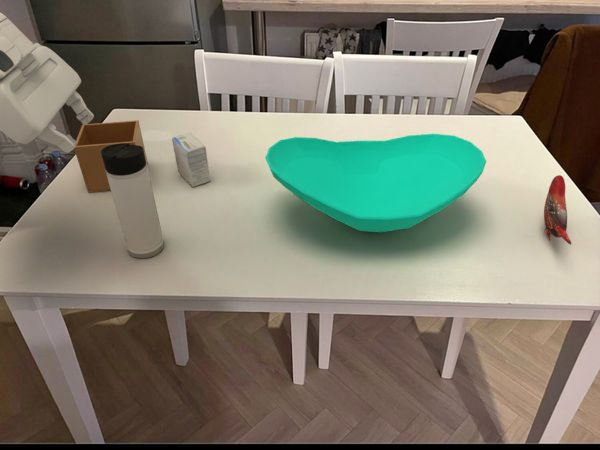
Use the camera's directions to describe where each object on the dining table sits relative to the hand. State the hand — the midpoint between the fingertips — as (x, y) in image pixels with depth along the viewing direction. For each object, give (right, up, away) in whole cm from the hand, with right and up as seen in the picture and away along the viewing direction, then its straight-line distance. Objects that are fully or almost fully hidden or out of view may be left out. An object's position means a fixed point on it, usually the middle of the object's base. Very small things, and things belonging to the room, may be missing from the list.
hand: (81, 134), depth 71 cm
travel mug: (+6, -18, +12) cm, 22 cm away
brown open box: (-6, -3, +31) cm, 32 cm away
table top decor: (+47, -12, +21) cm, 53 cm away
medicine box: (+10, -4, +31) cm, 33 cm away
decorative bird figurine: (+79, -17, +15) cm, 82 cm away
